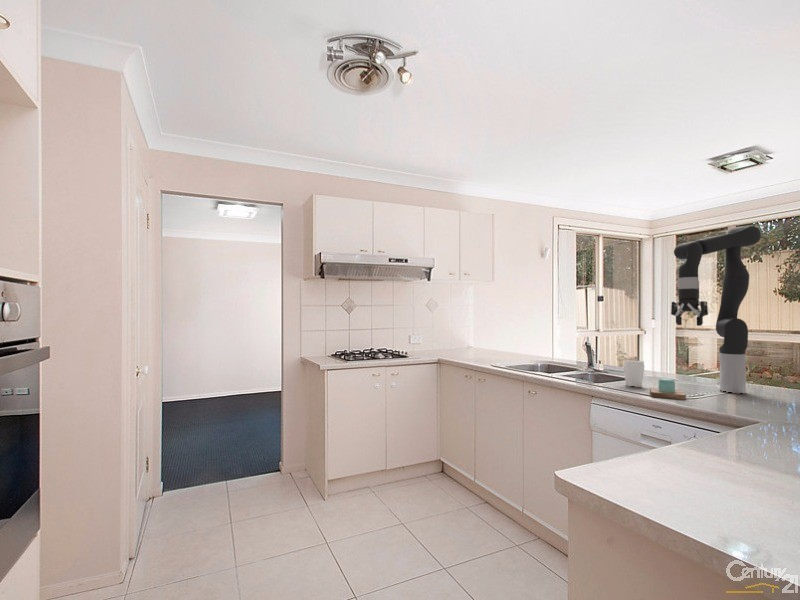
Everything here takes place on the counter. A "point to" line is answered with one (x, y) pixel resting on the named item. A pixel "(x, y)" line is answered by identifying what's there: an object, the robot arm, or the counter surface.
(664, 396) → the stud block
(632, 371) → the cup
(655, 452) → the counter surface
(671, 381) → the cap
